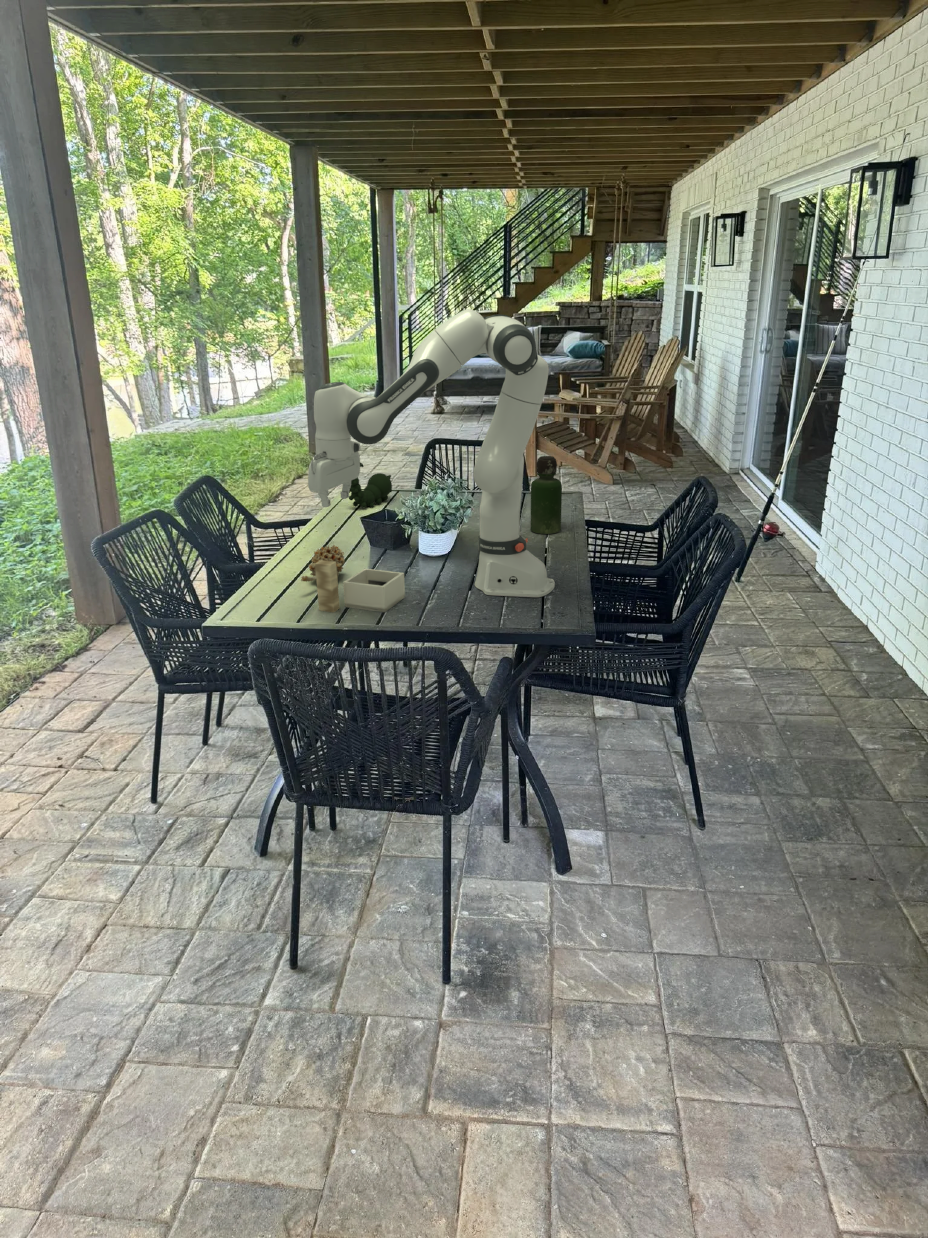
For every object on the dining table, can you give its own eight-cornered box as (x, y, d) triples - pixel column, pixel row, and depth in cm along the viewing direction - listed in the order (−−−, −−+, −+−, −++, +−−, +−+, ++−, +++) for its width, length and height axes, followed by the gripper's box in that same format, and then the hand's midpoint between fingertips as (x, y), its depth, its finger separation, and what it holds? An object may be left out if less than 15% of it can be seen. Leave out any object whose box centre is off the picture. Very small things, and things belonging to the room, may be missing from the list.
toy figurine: (364, 517, 321) (402, 496, 340) (358, 467, 313) (397, 449, 332) (344, 514, 326) (383, 494, 345) (338, 465, 318) (378, 447, 336)
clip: (390, 596, 233) (389, 581, 232) (380, 603, 228) (380, 588, 227) (369, 593, 236) (368, 579, 234) (359, 600, 231) (358, 586, 229)
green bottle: (524, 530, 294) (524, 457, 285) (545, 524, 301) (546, 453, 291) (545, 536, 287) (547, 461, 278) (567, 530, 293) (569, 457, 284)
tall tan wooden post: (339, 608, 228) (336, 561, 224) (334, 612, 226) (330, 565, 221) (324, 606, 230) (320, 560, 225) (319, 610, 227) (314, 563, 223)
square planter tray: (405, 597, 235) (404, 572, 233) (385, 612, 225) (383, 587, 223) (366, 592, 240) (364, 568, 237) (344, 607, 229) (343, 582, 227)
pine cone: (321, 571, 258) (318, 539, 254) (352, 573, 256) (349, 540, 252) (292, 596, 238) (288, 562, 234) (324, 598, 236) (321, 564, 232)
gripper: (322, 457, 208) (325, 513, 213) (363, 443, 225) (365, 494, 230) (300, 455, 210) (303, 510, 215) (342, 440, 227) (344, 492, 233)
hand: (335, 502), depth 223 cm, fingers open, 8 cm apart
